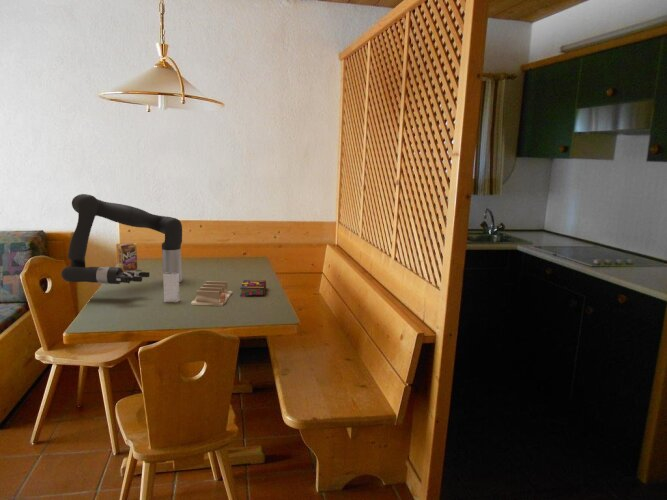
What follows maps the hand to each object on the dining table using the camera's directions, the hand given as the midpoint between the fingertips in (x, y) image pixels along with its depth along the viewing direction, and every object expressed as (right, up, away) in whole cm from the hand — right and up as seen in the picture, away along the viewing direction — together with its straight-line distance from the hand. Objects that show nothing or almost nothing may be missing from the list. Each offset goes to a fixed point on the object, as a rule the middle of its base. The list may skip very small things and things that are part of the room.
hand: (145, 276), depth 232 cm
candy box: (-29, 0, +55) cm, 62 cm away
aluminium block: (+11, -11, +2) cm, 16 cm away
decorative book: (+45, -9, +20) cm, 50 cm away
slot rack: (+28, -11, +7) cm, 31 cm away
